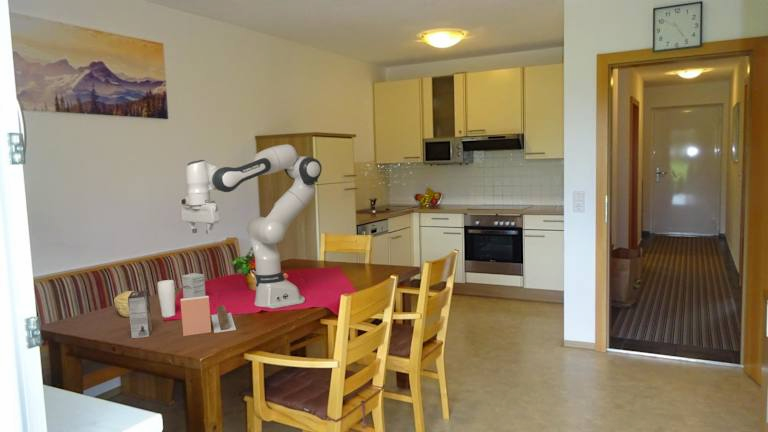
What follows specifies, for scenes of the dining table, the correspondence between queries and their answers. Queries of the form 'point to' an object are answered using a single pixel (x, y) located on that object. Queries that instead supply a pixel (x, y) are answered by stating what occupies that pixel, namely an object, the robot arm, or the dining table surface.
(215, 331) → the mat
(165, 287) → the drinking glass
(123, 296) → the sculpture
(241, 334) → the dining table surface
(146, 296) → the coffee box
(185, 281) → the supplement box
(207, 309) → the tile
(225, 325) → the stick
